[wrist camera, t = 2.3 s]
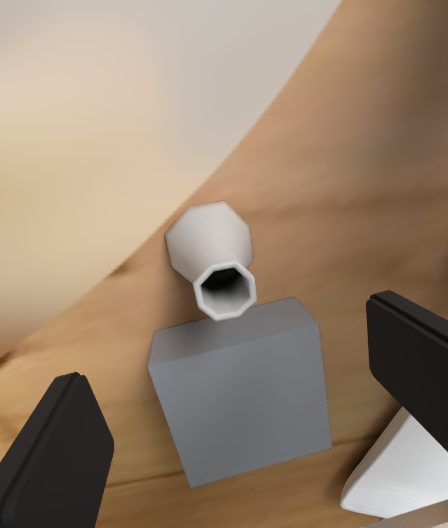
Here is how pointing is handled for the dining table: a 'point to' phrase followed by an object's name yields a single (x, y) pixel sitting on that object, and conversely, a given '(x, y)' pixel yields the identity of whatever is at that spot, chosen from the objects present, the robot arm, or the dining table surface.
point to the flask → (214, 258)
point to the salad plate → (398, 472)
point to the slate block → (242, 390)
